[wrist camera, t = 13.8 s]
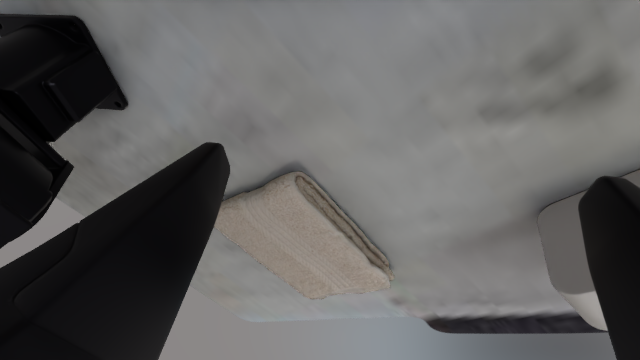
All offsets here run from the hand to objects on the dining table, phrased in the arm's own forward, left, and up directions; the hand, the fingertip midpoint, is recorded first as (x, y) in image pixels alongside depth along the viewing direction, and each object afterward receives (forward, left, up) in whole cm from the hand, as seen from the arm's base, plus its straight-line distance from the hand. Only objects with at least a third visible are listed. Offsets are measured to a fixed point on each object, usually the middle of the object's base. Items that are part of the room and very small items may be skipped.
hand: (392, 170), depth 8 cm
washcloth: (-6, -22, -12) cm, 26 cm away
